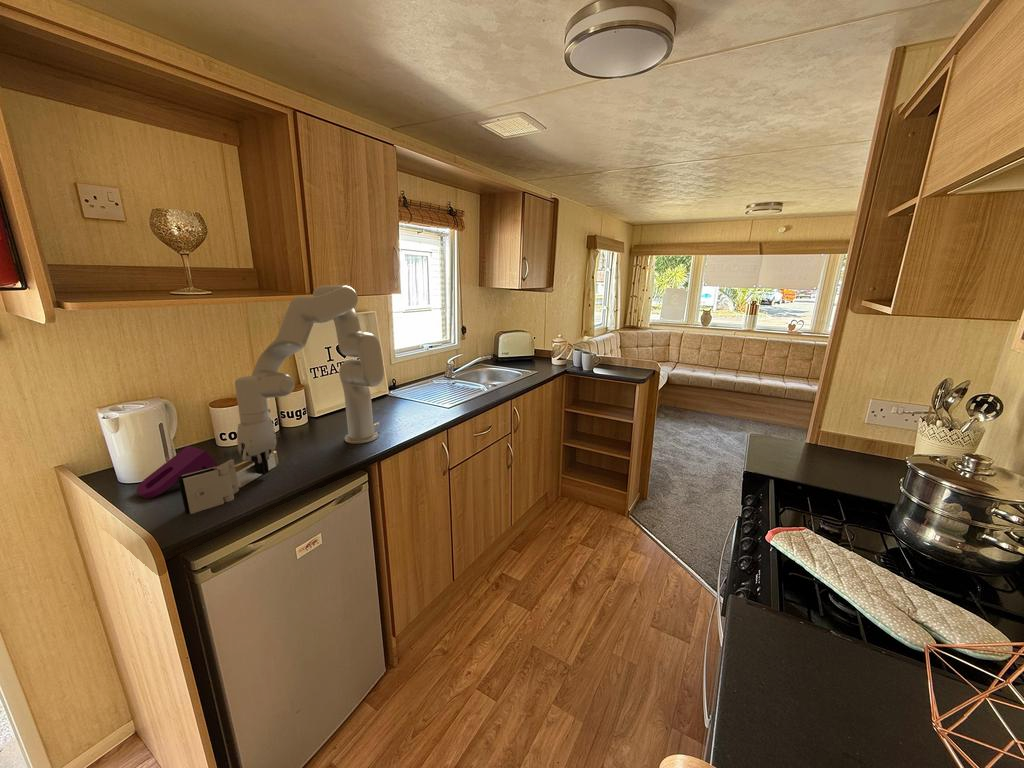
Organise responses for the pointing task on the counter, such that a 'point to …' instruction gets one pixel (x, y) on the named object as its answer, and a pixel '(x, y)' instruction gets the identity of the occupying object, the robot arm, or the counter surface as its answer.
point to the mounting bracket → (175, 471)
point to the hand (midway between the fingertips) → (262, 472)
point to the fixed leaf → (247, 463)
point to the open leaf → (252, 472)
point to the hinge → (208, 487)
